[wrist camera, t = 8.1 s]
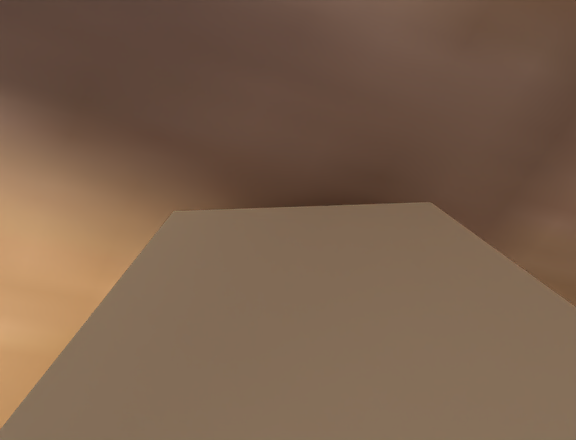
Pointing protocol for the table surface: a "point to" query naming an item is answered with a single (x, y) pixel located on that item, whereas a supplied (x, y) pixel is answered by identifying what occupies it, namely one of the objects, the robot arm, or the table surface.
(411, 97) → the table surface
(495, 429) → the beige cube
